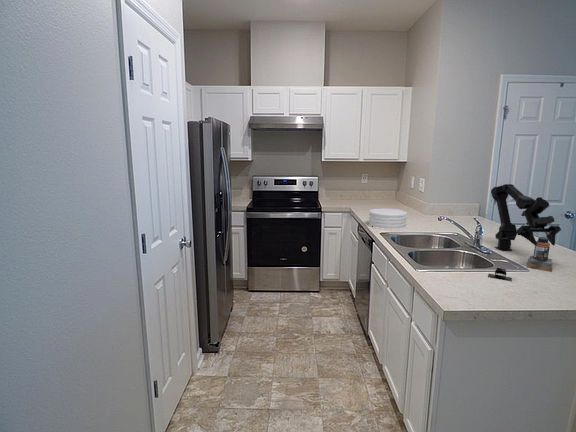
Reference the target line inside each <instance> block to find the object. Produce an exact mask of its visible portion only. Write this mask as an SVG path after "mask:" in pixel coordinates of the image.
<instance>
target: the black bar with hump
mask: <svg viewBox="0 0 576 432" xmlns="http://www.w3.org/2000/svg"><path fill="white" fill-rule="evenodd" d="M487 278H491V279H495V280H496V279H497V280H502V281H507V282H512V281H513V278H512V277H510V276H507V271H506V268H502V267H501V268H500V267H497V268H496V269H495V271H494V274H493V273H488V275H487Z"/></svg>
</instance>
